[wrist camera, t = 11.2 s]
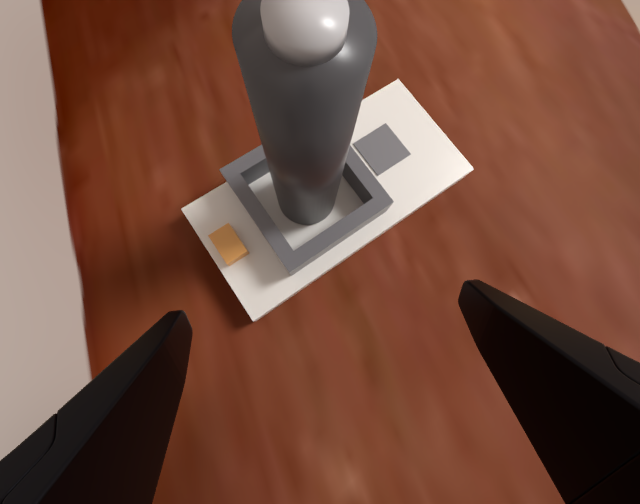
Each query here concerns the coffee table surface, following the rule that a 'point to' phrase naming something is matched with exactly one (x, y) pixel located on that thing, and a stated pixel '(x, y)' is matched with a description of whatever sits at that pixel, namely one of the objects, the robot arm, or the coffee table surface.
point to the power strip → (349, 209)
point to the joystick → (305, 92)
